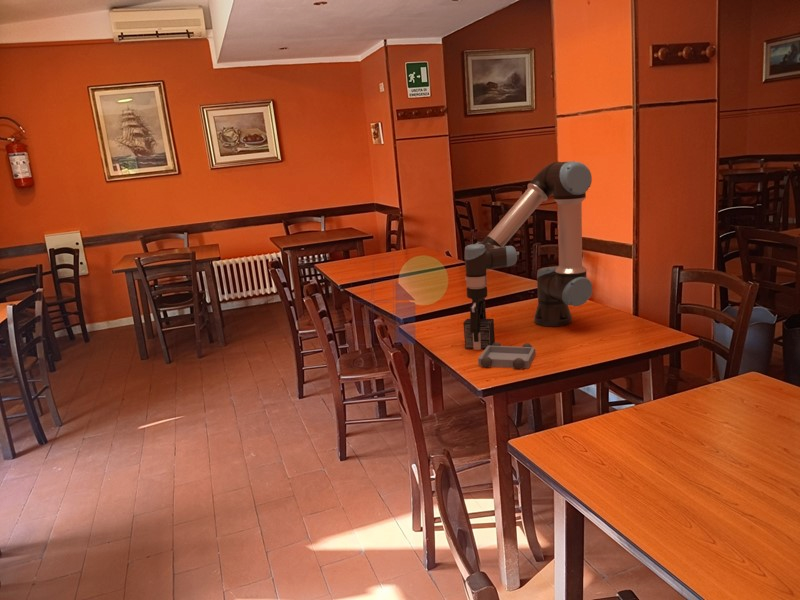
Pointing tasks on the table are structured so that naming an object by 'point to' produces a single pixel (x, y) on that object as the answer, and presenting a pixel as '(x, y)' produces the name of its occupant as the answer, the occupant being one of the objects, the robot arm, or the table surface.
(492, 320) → the small box
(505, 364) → the chassis bay
